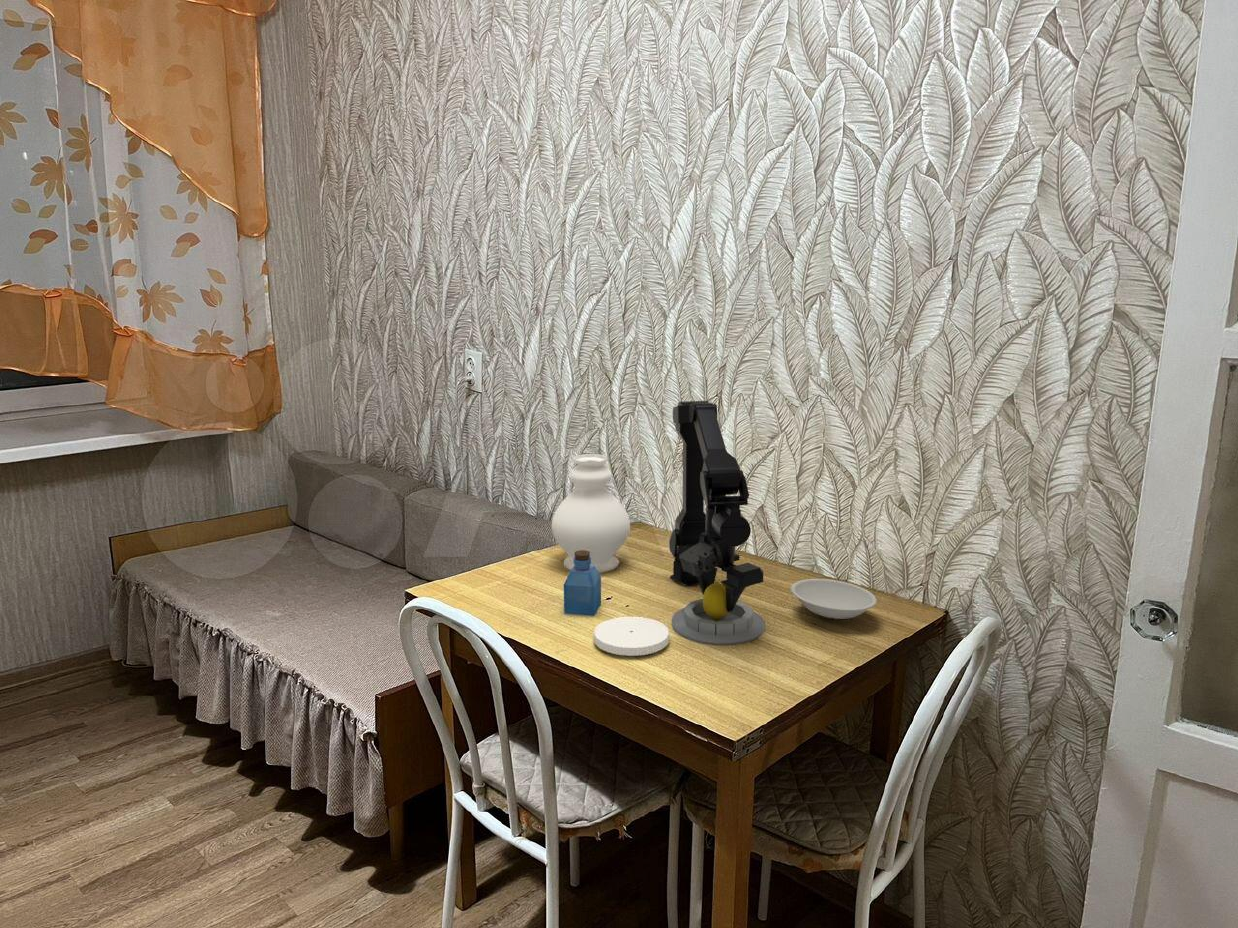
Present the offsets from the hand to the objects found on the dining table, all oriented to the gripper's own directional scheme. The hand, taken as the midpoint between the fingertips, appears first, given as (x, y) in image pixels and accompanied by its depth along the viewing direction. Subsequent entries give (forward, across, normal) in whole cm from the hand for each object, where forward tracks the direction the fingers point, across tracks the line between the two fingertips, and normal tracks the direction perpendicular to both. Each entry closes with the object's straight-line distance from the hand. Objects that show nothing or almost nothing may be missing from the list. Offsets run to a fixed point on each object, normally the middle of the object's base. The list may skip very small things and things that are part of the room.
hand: (718, 605), depth 183 cm
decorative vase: (+4, -43, -1) cm, 43 cm away
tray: (+4, 0, 0) cm, 4 cm away
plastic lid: (+4, -3, -18) cm, 19 cm away
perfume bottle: (+4, -22, -17) cm, 28 cm away
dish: (+4, +10, +21) cm, 24 cm away
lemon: (+3, 0, 0) cm, 3 cm away
